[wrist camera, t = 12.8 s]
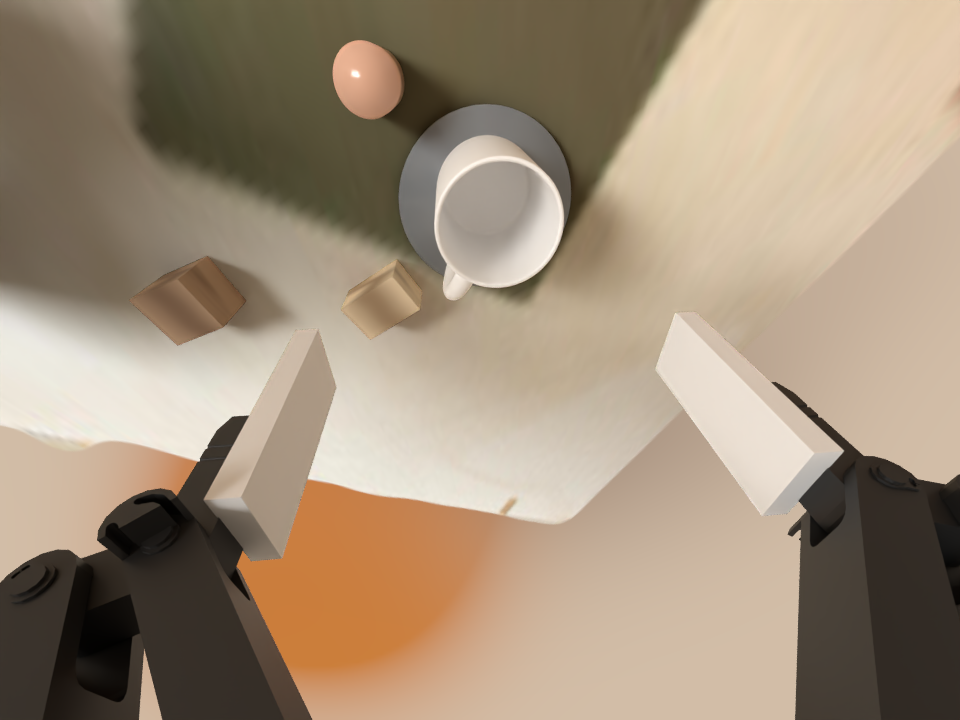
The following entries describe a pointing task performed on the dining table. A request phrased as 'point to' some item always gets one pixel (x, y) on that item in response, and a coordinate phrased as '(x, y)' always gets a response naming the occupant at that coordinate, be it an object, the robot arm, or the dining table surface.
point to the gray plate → (439, 143)
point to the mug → (494, 216)
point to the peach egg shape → (368, 79)
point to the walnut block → (190, 301)
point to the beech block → (382, 300)
